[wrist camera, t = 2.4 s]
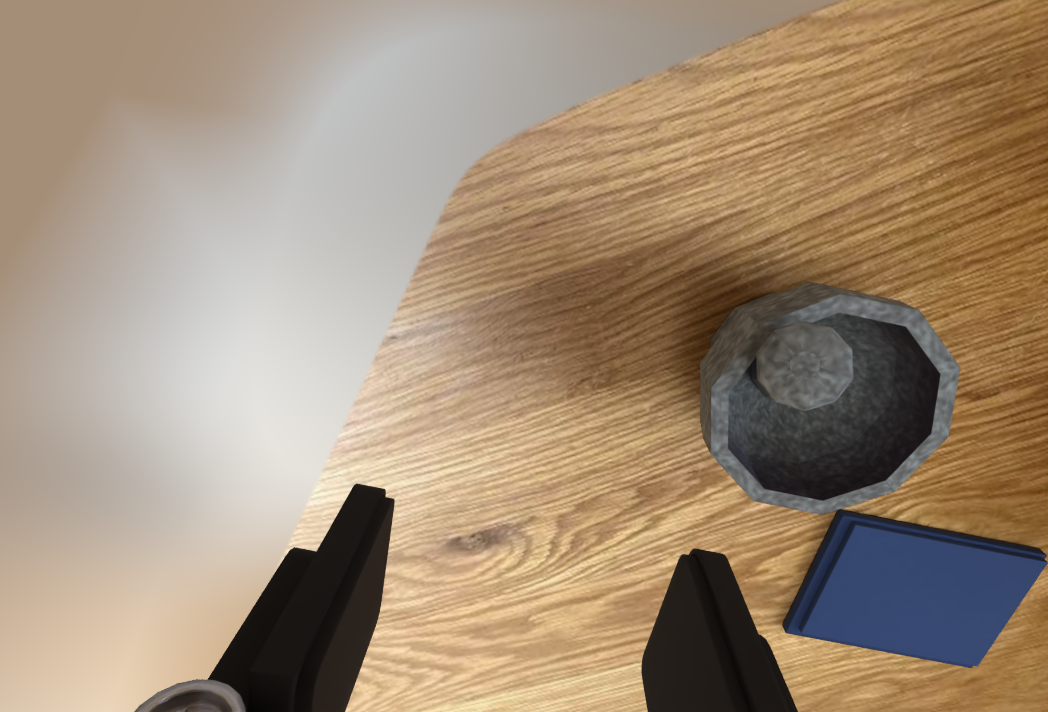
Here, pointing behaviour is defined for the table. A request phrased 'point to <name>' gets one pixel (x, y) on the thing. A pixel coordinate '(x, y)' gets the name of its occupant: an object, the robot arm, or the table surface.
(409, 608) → the table surface
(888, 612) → the blue flat slab
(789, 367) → the mortar and pestle
